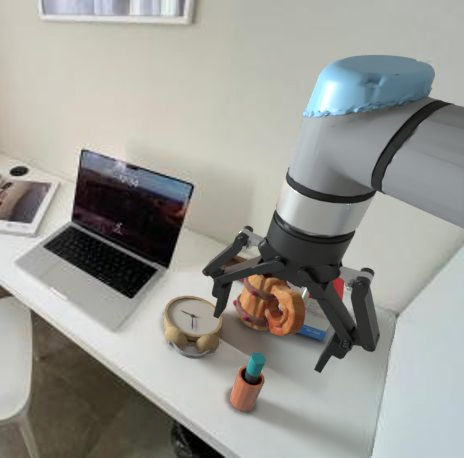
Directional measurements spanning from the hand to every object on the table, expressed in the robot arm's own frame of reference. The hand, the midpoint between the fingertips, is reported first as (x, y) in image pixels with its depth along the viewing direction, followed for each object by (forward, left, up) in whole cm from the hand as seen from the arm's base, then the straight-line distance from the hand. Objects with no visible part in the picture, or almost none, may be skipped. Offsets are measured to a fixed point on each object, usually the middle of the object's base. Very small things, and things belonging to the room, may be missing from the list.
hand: (265, 336), depth 51 cm
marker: (0, 0, -18) cm, 18 cm away
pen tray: (+21, -24, -19) cm, 37 cm away
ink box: (+5, -24, -19) cm, 31 cm away
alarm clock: (+15, -2, -19) cm, 24 cm away
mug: (+9, -15, -19) cm, 25 cm away
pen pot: (0, 0, -19) cm, 19 cm away
